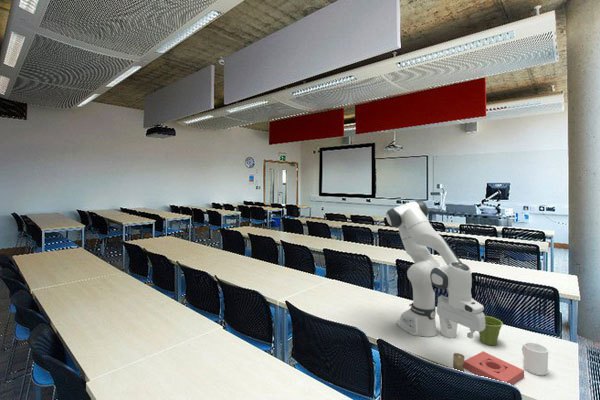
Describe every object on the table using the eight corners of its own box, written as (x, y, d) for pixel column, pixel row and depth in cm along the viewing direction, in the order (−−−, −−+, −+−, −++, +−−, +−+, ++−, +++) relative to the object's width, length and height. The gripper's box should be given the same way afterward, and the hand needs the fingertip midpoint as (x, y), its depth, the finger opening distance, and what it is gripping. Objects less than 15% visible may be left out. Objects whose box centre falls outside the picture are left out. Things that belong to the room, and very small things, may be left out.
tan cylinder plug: (451, 370, 135) (451, 354, 134) (456, 367, 137) (457, 352, 136) (460, 375, 131) (460, 359, 130) (466, 372, 133) (466, 356, 133)
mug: (513, 359, 142) (514, 338, 141) (531, 359, 142) (532, 338, 141) (532, 376, 130) (533, 352, 129) (552, 376, 130) (553, 352, 129)
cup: (455, 330, 170) (456, 300, 169) (463, 340, 160) (464, 307, 159) (434, 329, 171) (434, 299, 170) (441, 339, 161) (441, 307, 160)
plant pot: (505, 350, 150) (506, 327, 149) (477, 346, 154) (478, 324, 153) (498, 338, 161) (499, 317, 161) (473, 334, 165) (473, 314, 164)
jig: (463, 367, 136) (463, 361, 136) (482, 357, 144) (483, 351, 144) (505, 389, 122) (505, 382, 122) (524, 377, 129) (524, 370, 129)
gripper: (433, 295, 139) (433, 325, 140) (479, 311, 122) (478, 345, 122) (442, 292, 142) (442, 321, 143) (488, 307, 125) (487, 341, 126)
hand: (459, 332), depth 133 cm, fingers open, 8 cm apart
